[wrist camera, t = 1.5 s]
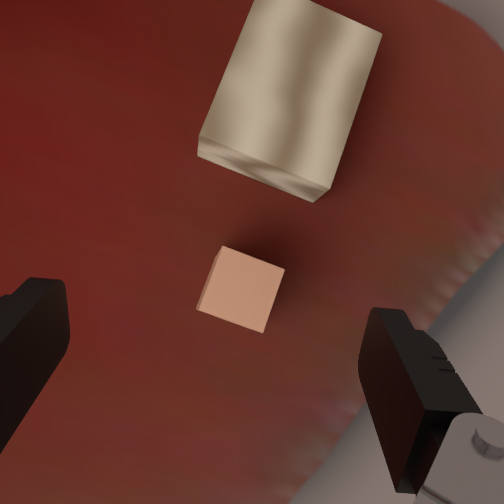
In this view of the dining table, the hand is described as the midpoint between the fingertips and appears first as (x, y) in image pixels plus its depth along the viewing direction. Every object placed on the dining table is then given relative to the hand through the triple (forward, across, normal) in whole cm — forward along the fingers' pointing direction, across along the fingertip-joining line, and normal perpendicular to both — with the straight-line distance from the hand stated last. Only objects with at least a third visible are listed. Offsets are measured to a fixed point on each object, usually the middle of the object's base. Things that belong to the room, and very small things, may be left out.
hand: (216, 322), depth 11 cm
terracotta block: (+24, 0, +13) cm, 28 cm away
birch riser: (+35, -4, -2) cm, 35 cm away
